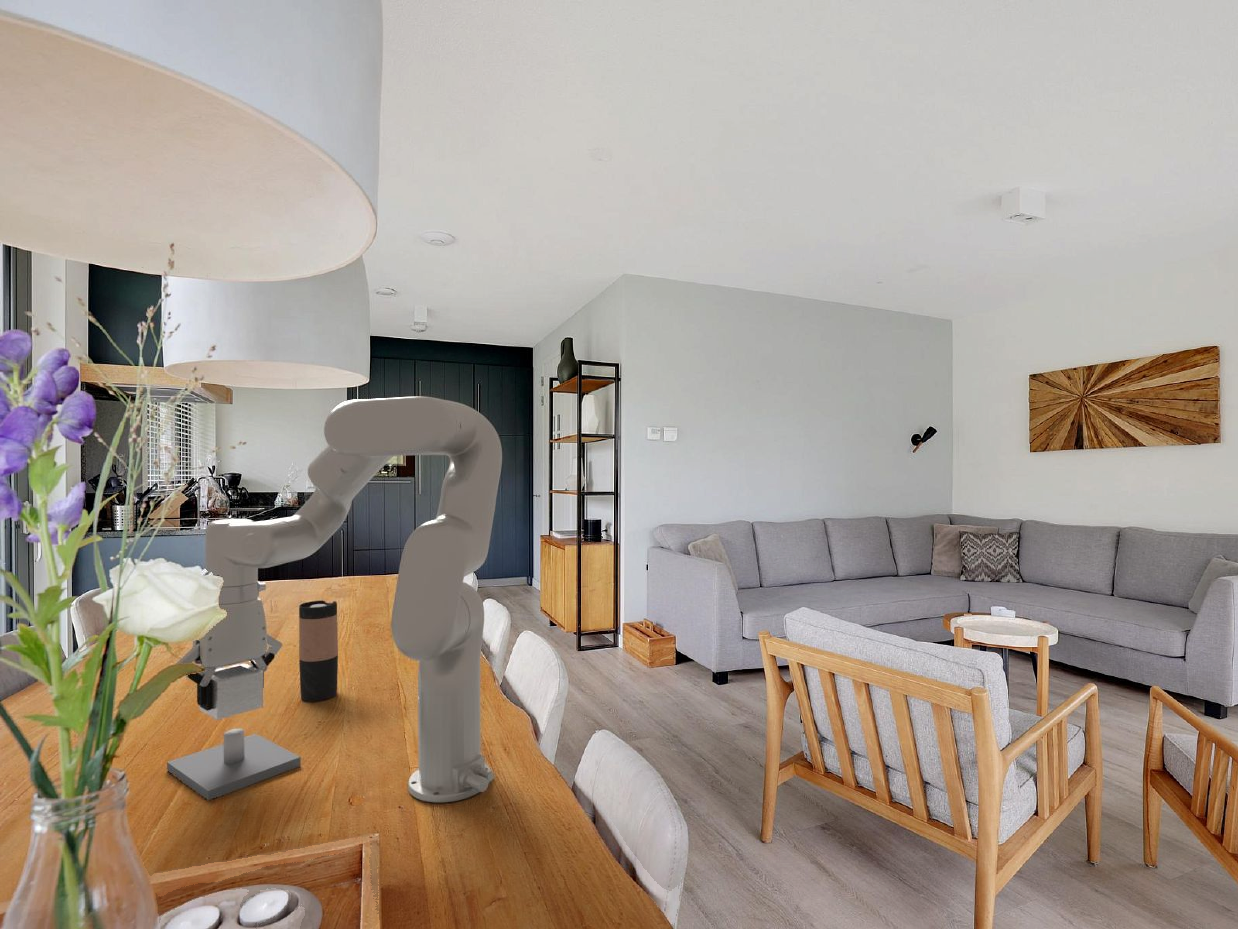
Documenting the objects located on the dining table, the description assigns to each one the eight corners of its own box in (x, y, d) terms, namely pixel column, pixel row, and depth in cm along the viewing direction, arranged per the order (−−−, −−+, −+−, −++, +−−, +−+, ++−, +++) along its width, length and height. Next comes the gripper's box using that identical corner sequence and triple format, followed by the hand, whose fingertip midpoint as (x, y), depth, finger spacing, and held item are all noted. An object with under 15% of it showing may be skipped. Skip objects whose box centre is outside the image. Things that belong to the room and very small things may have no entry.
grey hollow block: (263, 707, 110) (263, 671, 110) (217, 720, 104) (217, 682, 104) (231, 691, 117) (231, 657, 117) (186, 702, 112) (186, 667, 111)
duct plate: (300, 766, 110) (300, 730, 110) (208, 801, 99) (207, 761, 99) (255, 741, 120) (255, 708, 120) (167, 771, 108) (166, 734, 108)
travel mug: (301, 705, 137) (300, 609, 137) (297, 694, 144) (296, 602, 144) (341, 698, 141) (340, 605, 141) (335, 687, 148) (334, 598, 148)
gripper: (274, 583, 118) (273, 682, 118) (162, 599, 104) (162, 711, 104) (295, 589, 114) (294, 692, 114) (181, 606, 100) (181, 723, 100)
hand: (231, 700), depth 109 cm, fingers closed on grey hollow block, 7 cm apart
